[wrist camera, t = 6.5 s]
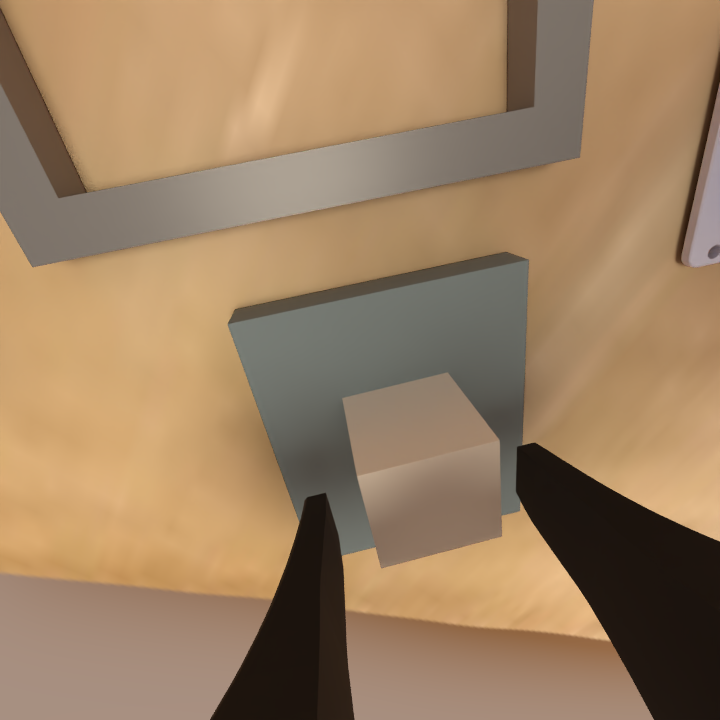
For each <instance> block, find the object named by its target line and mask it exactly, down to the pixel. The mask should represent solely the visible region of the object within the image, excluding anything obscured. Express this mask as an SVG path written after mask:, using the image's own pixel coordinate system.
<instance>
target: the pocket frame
mask: <svg viewBox="0 0 720 720" xmlns="http://www.w3.org/2000/svg"><path fill="white" fill-rule="evenodd" d="M593 2H594V0H508V86H507V112H505V113H500V114H495V115H490V116H484V117H479V118H474V119H469V120H464V121H458V122H453V123H448V124H443V125H438V126H432V127H427V128H422V129H417V130H412V131H406V132H401V133H396V134H391V135H386V136H380V137H375V138H370V139H365V140H360V141H354V142H349V143H344V144H339V145H333V146H328V147H323V148H318V149H313V150H307V151H302V152H297V153H292V154H287V155H281V156H276V157H271V158H266V159H261V160H255V161H250V162H245V163H240V164H235V165H229V166H224V167H219V168H214V169H209V170H203V171H198V172H193V173H188V174H183V175H177V176H172V177H167V178H162V179H156V180H151V181H146V182H141V183H136V184H130V185H125V186H120V187H115V188H110V189H104V190H99V191H94V192H89V193H86V191H85V189H84V187H83V184H82V182H81V180H80V178H79V176H78V174H77V172H76V170H75V167H74V165H73V163H72V161H71V159H70V157H69V155H68V153H67V150H66V148H65V146H64V144H63V142H62V140H61V138H60V136H59V133H58V131H57V129H56V127H55V125H54V123H53V121H52V118H51V116H50V114H49V112H48V110H47V108H46V106H45V104H44V101H43V99H42V97H41V95H40V93H39V91H38V89H37V87H36V84H35V82H34V80H33V78H32V76H31V74H30V72H29V69H28V67H27V65H26V63H25V61H24V59H23V57H22V55H21V52H20V50H19V48H18V46H17V44H16V42H15V40H14V38H13V35H12V33H11V31H10V29H9V27H8V25H7V23H6V21H5V18H4V16H3V14H2V12H1V10H0V212H1V214H2V216H3V217H4V219H5V221H6V222H7V224H8V226H9V228H10V229H11V231H12V233H13V234H14V236H15V238H16V240H17V241H18V243H19V245H20V247H21V248H22V250H23V252H24V253H25V255H26V257H27V259H28V260H29V262H30V264H31V266H32V267H36V266H41V265H46V264H51V263H56V262H61V261H66V260H71V259H76V258H81V257H86V256H91V255H96V254H101V253H106V252H111V251H116V250H121V249H126V248H131V247H136V246H141V245H146V244H151V243H156V242H161V241H166V240H171V239H176V238H181V237H186V236H191V235H196V234H201V233H206V232H211V231H216V230H221V229H226V228H231V227H236V226H241V225H246V224H251V223H256V222H261V221H266V220H271V219H276V218H281V217H286V216H291V215H296V214H301V213H306V212H311V211H316V210H321V209H326V208H331V207H336V206H340V205H345V204H350V203H355V202H360V201H365V200H370V199H375V198H380V197H385V196H390V195H395V194H400V193H405V192H410V191H415V190H420V189H425V188H430V187H435V186H440V185H445V184H450V183H455V182H460V181H465V180H470V179H475V178H480V177H485V176H490V175H495V174H500V173H505V172H510V171H515V170H520V169H525V168H530V167H535V166H540V165H545V164H550V163H555V162H560V161H565V160H570V159H575V158H580V151H581V140H582V129H583V117H584V106H585V94H586V83H587V71H588V60H589V48H590V37H591V25H592V14H593Z"/></svg>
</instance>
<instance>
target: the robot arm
mask: <svg viewBox="0 0 720 720" xmlns="http://www.w3.org/2000/svg"><path fill="white" fill-rule="evenodd" d="M709 250H710V251H709ZM708 252H709V253H708ZM681 261H682V263H683V264H684V265H686V266H689V267H702V266H706V265H711V264H715V263H720V84H719V88H718V93H717V97H716V102H715V106H714V111H713V115H712V120H711V125H710V129H709V134H708V138H707V143H706V147H705V152H704V156H703V161H702V165H701V170H700V174H699V179H698V183H697V188H696V192H695V197H694V201H693V206H692V210H691V215H690V219H689V224H688V228H687V233H686V237H685V242H684V246H683V251H682V256H681ZM516 493H517V495H518V497H519V499H520V501H521V503H522V505H523V506H524V508H525V510H526V512H527V514H528V515H529V517H530V519H531V521H532V522H533V524H534V525H535V527H536V528H537V530H538V531H539V532H540V534H541V535H542V537H543V538H544V540H545V541H546V543H547V544H548V545H549V547H550V548H551V550H552V551H553V552H554V554H555V555H556V557H557V558H558V559H559V561H560V562H561V564H562V565H563V567H564V568H565V569H566V571H567V572H568V574H569V575H570V576H571V578H572V579H573V581H574V582H575V583H576V585H577V586H578V588H579V589H580V591H581V592H582V594H583V595H584V597H585V598H586V600H587V601H588V603H589V605H590V606H591V608H592V610H593V611H594V613H595V615H596V616H597V618H598V620H599V622H600V623H601V625H602V627H603V628H604V630H605V632H606V633H607V635H608V637H609V639H610V640H611V642H612V644H613V646H614V647H615V649H616V651H617V653H618V654H619V656H620V658H621V660H622V662H623V663H624V665H625V667H626V668H627V670H628V672H629V674H630V676H631V678H632V679H633V681H634V683H635V685H636V687H637V689H638V691H639V692H640V694H641V696H642V698H643V700H644V702H645V704H646V706H647V707H648V709H649V711H650V713H651V715H652V717H653V719H654V720H720V541H717V540H715V539H712V538H710V537H707V536H705V535H703V534H700V533H698V532H696V531H693V530H691V529H689V528H687V527H685V526H682V525H680V524H678V523H676V522H674V521H672V520H670V519H668V518H665V517H663V516H661V515H659V514H657V513H655V512H653V511H651V510H649V509H647V508H645V507H643V506H641V505H639V504H637V503H636V502H634V501H632V500H630V499H628V498H626V497H624V496H623V495H621V494H619V493H617V492H615V491H614V490H612V489H610V488H608V487H606V486H605V485H603V484H601V483H600V482H598V481H596V480H594V479H593V478H591V477H589V476H588V475H586V474H585V473H583V472H581V471H580V470H578V469H576V468H575V467H573V466H572V465H570V464H568V463H567V462H565V461H564V460H562V459H560V458H559V457H557V456H556V455H554V454H552V453H551V452H549V451H548V450H546V449H545V448H543V447H541V446H540V445H538V444H536V443H530V444H526V445H522V446H518V447H517V462H516ZM346 645H347V644H346V619H345V594H344V572H343V562H342V555H341V548H340V541H339V535H338V531H337V528H336V525H335V521H334V518H333V515H332V511H331V508H330V505H329V501H328V498H327V495H326V493H322V494H318V495H314V496H310V497H307V498H306V499H305V501H304V506H303V511H302V515H301V519H300V523H299V527H298V530H297V534H296V537H295V540H294V543H293V547H292V550H291V553H290V556H289V559H288V562H287V565H286V567H285V570H284V573H283V575H282V578H281V580H280V583H279V586H278V588H277V591H276V593H275V596H274V598H273V600H272V603H271V606H270V608H269V610H268V612H267V614H266V617H265V619H264V621H263V623H262V625H261V627H260V629H259V632H258V634H257V636H256V638H255V640H254V642H253V644H252V646H251V647H250V650H249V651H248V654H247V655H246V657H245V659H244V661H243V663H242V665H241V667H240V669H239V671H238V672H237V674H236V676H235V678H234V680H233V681H232V683H231V685H230V687H229V688H228V690H227V692H226V693H225V695H224V697H223V698H222V700H221V702H220V704H219V705H218V707H217V709H216V710H215V712H214V714H213V715H212V717H211V719H210V720H354V713H353V704H352V696H351V687H350V679H349V670H348V659H347V646H346Z"/></svg>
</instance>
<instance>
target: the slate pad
mask: <svg viewBox="0 0 720 720" xmlns="http://www.w3.org/2000/svg"><path fill="white" fill-rule="evenodd" d="M528 268H529V260H528V259H525V258H522V257H519V256H516V255H513V254H510V253H507V252H504V253H500V254H495V255H490V256H485V257H481V258H476V259H471V260H466V261H462V262H457V263H452V264H448V265H443V266H438V267H433V268H429V269H424V270H419V271H415V272H410V273H405V274H400V275H396V276H391V277H386V278H382V279H377V280H372V281H367V282H363V283H358V284H353V285H349V286H344V287H339V288H334V289H330V290H325V291H320V292H316V293H311V294H306V295H301V296H297V297H292V298H287V299H283V300H278V301H273V302H268V303H264V304H259V305H254V306H250V307H245V308H240V309H235V311H234V313H233V315H232V317H231V319H230V321H229V322H228V327H229V330H230V332H231V335H232V338H233V341H234V343H235V346H236V349H237V352H238V354H239V357H240V360H241V363H242V365H243V368H244V371H245V374H246V376H247V379H248V382H249V385H250V387H251V390H252V393H253V396H254V398H255V401H256V404H257V407H258V409H259V412H260V415H261V418H262V420H263V423H264V426H265V429H266V431H267V434H268V437H269V440H270V442H271V445H272V448H273V451H274V453H275V456H276V459H277V462H278V464H279V467H280V470H281V473H282V475H283V478H284V481H285V484H286V486H287V489H288V492H289V495H290V497H291V500H292V503H293V506H294V508H295V511H296V514H297V517H298V519H299V522H300V519H301V515H302V511H303V506H304V501H305V499H306V498H307V497H310V496H314V495H318V494H322V493H326V495H327V498H328V501H329V505H330V508H331V511H332V515H333V518H334V521H335V525H336V528H337V531H338V535H339V541H340V548H341V555H346V554H350V553H354V552H358V551H362V550H366V549H370V548H374V547H375V543H374V539H373V535H372V531H371V528H370V524H369V520H368V516H367V513H366V509H365V505H364V501H363V498H362V494H361V490H360V486H359V482H358V479H357V474H356V469H355V464H354V458H353V453H352V448H351V442H350V437H349V432H348V427H347V421H346V416H345V411H344V405H343V400H342V398H345V397H349V396H353V395H357V394H361V393H365V392H369V391H373V390H377V389H382V388H386V387H390V386H394V385H398V384H402V383H406V382H410V381H414V380H419V379H423V378H427V377H431V376H435V375H439V374H443V373H447V372H448V373H449V375H450V376H451V377H452V379H453V380H454V381H455V383H456V384H457V385H458V387H459V388H460V389H461V390H462V392H463V393H464V394H465V396H466V397H467V398H468V400H469V401H470V402H471V403H472V405H473V406H474V407H475V409H476V410H477V411H478V413H479V414H480V415H481V417H482V418H483V419H484V420H485V422H486V423H487V424H488V426H489V427H490V428H491V430H492V431H493V432H494V433H495V435H496V436H497V437H498V439H499V440H500V476H501V516H502V515H506V514H510V513H514V512H518V511H520V499H519V497H518V495H517V493H516V462H517V447H518V446H522V438H523V410H524V382H525V353H526V325H527V297H528Z"/></svg>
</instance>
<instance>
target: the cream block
mask: <svg viewBox="0 0 720 720" xmlns="http://www.w3.org/2000/svg"><path fill="white" fill-rule="evenodd" d="M342 400H343V405H344V411H345V416H346V421H347V427H348V432H349V437H350V442H351V448H352V453H353V458H354V464H355V469H356V474H357V479H358V482H359V486H360V490H361V494H362V498H363V501H364V505H365V509H366V513H367V516H368V520H369V524H370V528H371V531H372V535H373V539H374V543H375V547H376V550H377V554H378V558H379V562H380V565H381V568H384V567H388V566H392V565H396V564H400V563H403V562H407V561H411V560H415V559H418V558H422V557H426V556H430V555H434V554H437V553H441V552H445V551H449V550H452V549H456V548H460V547H464V546H468V545H471V544H475V543H479V542H483V541H486V540H490V539H494V538H498V537H501V536H502V520H501V476H500V440H499V439H498V437H497V436H496V435H495V433H494V432H493V431H492V430H491V428H490V427H489V426H488V424H487V423H486V422H485V420H484V419H483V418H482V417H481V415H480V414H479V413H478V411H477V410H476V409H475V407H474V406H473V405H472V403H471V402H470V401H469V400H468V398H467V397H466V396H465V394H464V393H463V392H462V390H461V389H460V388H459V387H458V385H457V384H456V383H455V381H454V380H453V379H452V377H451V376H450V375H449V373H448V372H447V373H443V374H439V375H435V376H431V377H427V378H423V379H419V380H414V381H410V382H406V383H402V384H398V385H394V386H390V387H386V388H382V389H377V390H373V391H369V392H365V393H361V394H357V395H353V396H349V397H345V398H342Z"/></svg>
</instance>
